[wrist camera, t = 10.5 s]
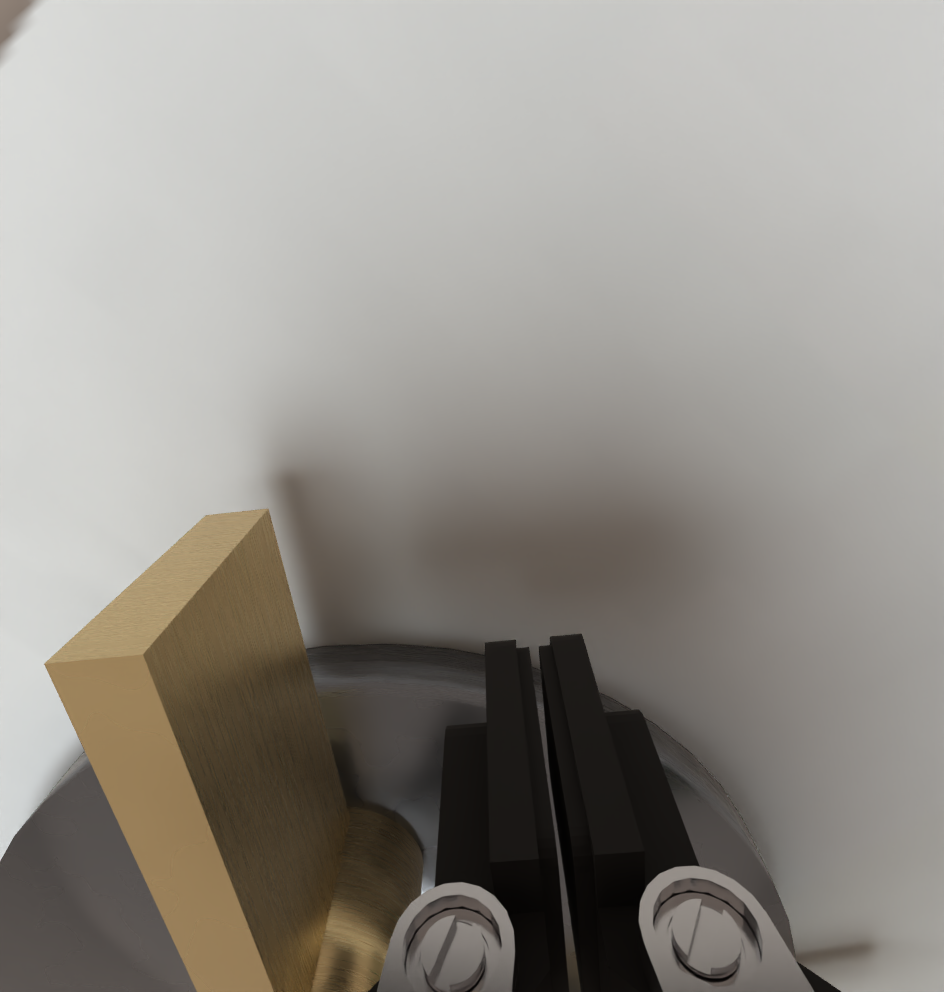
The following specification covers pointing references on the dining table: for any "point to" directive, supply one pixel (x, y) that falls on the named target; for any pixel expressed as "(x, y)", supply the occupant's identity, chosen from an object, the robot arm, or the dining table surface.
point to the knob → (234, 771)
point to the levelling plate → (366, 784)
